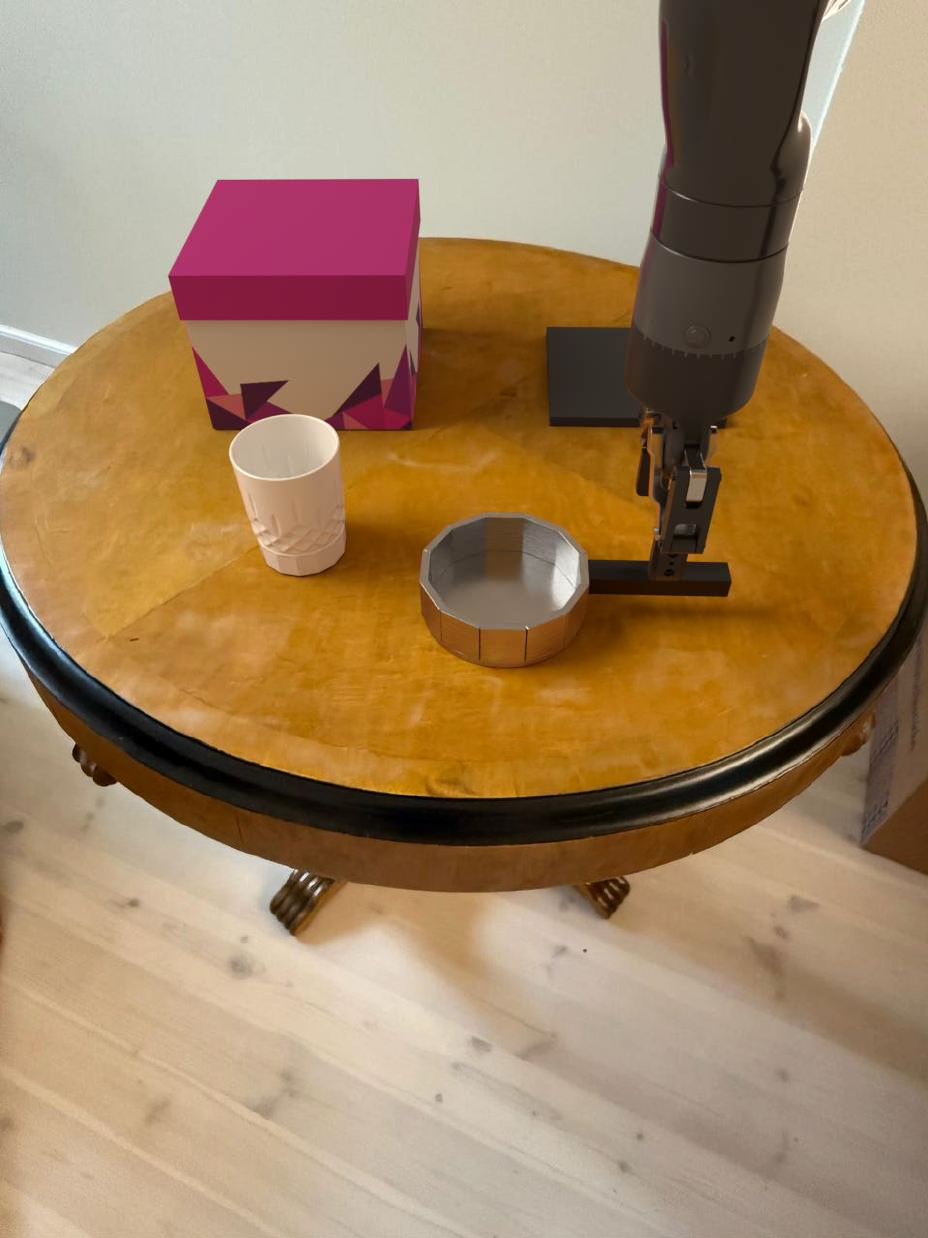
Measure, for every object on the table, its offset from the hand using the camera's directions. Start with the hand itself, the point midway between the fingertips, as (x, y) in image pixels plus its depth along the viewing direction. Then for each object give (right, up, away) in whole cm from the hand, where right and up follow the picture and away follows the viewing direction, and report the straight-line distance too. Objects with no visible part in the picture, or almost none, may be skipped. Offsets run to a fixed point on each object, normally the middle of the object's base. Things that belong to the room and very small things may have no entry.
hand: (656, 533), depth 61 cm
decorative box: (-27, +18, +28) cm, 43 cm away
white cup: (-26, 0, +11) cm, 28 cm away
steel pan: (-5, -5, +6) cm, 9 cm away
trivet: (+3, +18, +27) cm, 32 cm away
